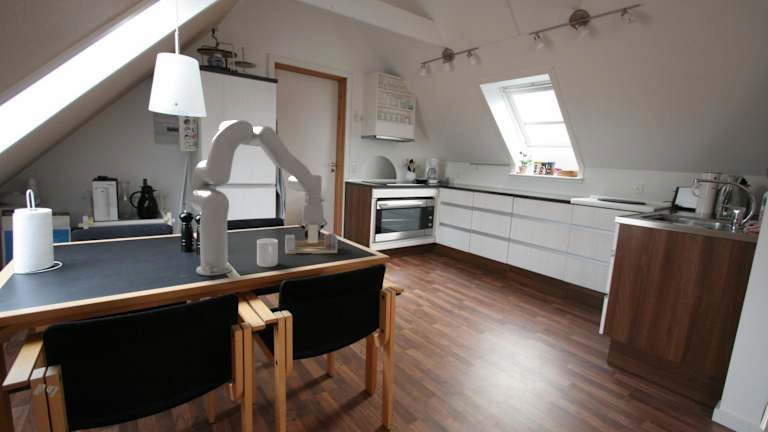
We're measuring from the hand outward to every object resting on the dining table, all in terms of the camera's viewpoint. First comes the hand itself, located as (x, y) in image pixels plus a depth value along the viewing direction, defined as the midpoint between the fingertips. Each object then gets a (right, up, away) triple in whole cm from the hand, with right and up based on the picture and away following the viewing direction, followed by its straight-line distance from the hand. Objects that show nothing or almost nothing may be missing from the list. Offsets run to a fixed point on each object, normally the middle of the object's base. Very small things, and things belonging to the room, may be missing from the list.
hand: (312, 238), depth 176 cm
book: (0, -2, 0) cm, 2 cm away
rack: (-1, -6, +2) cm, 7 cm away
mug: (-14, -10, -24) cm, 29 cm away
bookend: (-10, -5, -2) cm, 12 cm away
